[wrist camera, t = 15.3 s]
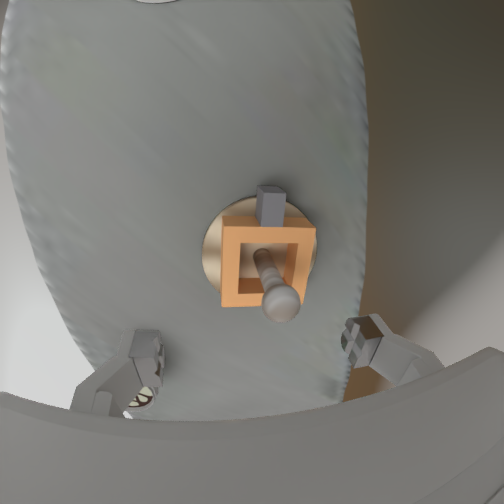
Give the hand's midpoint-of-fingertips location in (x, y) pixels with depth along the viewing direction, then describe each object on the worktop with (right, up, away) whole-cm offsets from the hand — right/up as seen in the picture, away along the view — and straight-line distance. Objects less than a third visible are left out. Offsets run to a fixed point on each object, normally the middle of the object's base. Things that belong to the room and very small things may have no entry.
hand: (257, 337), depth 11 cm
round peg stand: (+1, +4, +28) cm, 28 cm away
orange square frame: (+1, +5, +25) cm, 26 cm away
